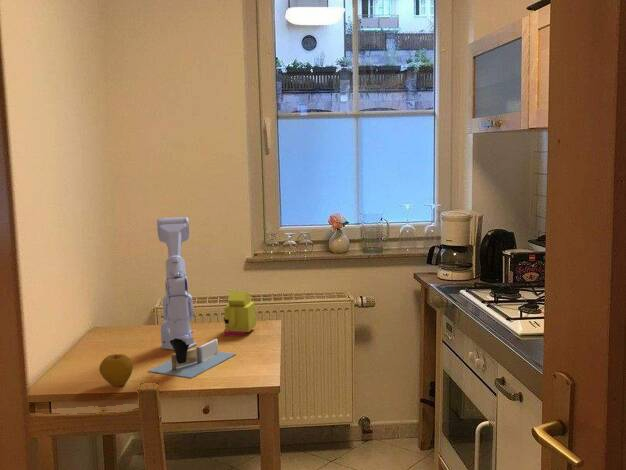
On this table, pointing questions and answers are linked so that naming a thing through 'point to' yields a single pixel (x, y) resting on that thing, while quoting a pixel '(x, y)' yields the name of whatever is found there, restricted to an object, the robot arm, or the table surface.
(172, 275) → the robot arm
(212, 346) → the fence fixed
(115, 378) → the apple
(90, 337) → the table surface
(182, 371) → the mat
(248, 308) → the toy
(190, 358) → the fence panel
